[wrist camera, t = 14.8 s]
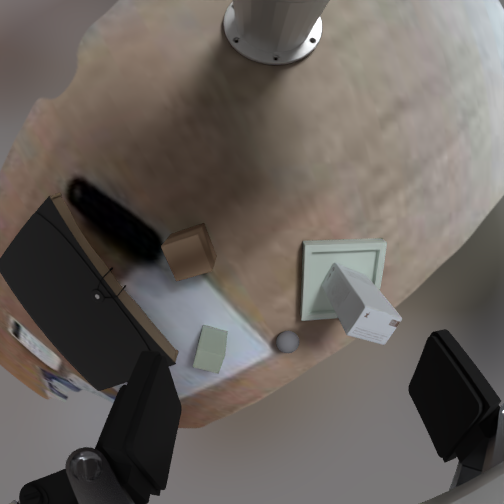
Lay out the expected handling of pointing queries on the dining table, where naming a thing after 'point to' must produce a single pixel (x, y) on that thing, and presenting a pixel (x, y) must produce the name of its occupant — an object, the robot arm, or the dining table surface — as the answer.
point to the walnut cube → (189, 252)
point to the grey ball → (287, 341)
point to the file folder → (78, 298)
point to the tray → (321, 261)
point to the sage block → (210, 349)
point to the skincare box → (360, 305)
